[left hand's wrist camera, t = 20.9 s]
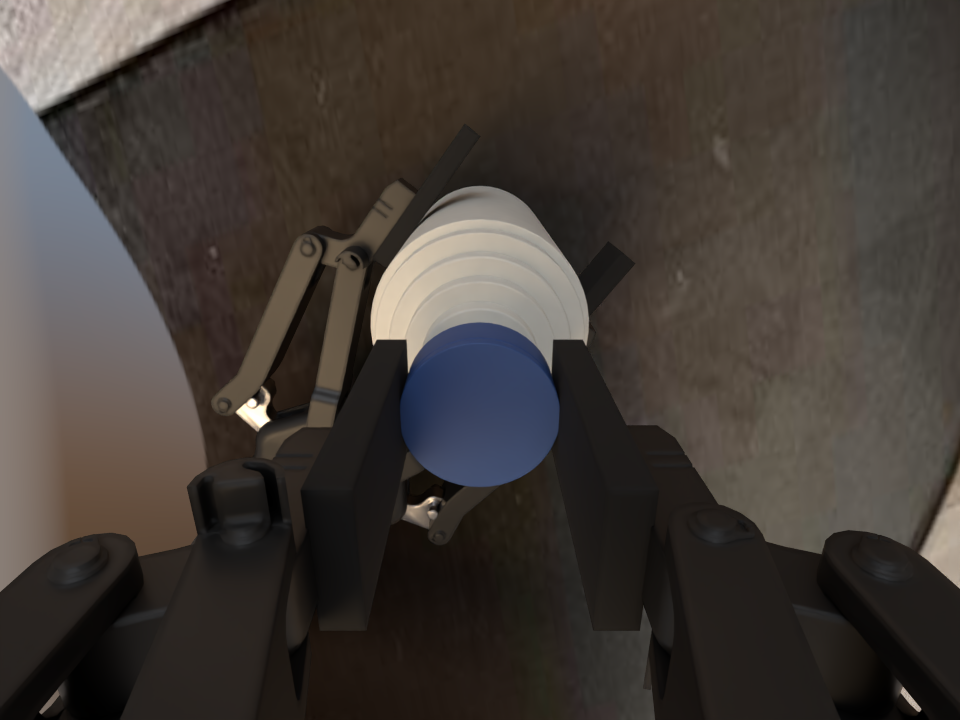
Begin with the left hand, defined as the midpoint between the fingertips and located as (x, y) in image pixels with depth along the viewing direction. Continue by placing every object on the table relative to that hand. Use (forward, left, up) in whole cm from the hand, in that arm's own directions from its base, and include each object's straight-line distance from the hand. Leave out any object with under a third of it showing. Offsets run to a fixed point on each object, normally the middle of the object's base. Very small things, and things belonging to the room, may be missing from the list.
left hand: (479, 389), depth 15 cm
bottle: (0, 0, -18) cm, 18 cm away
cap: (0, 0, +1) cm, 1 cm away
